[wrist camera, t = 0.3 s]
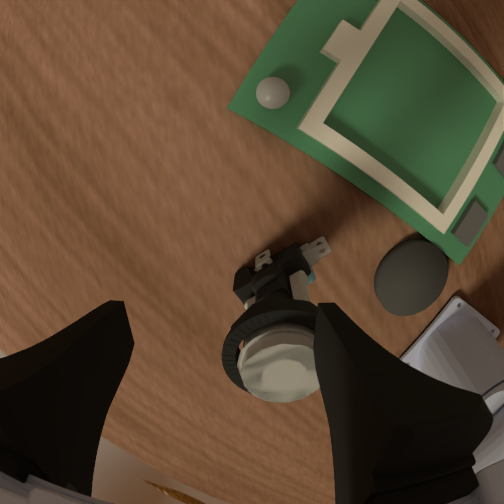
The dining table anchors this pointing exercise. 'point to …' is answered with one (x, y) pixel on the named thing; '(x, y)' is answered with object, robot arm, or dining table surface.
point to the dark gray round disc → (410, 277)
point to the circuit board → (388, 110)
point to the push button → (275, 325)
